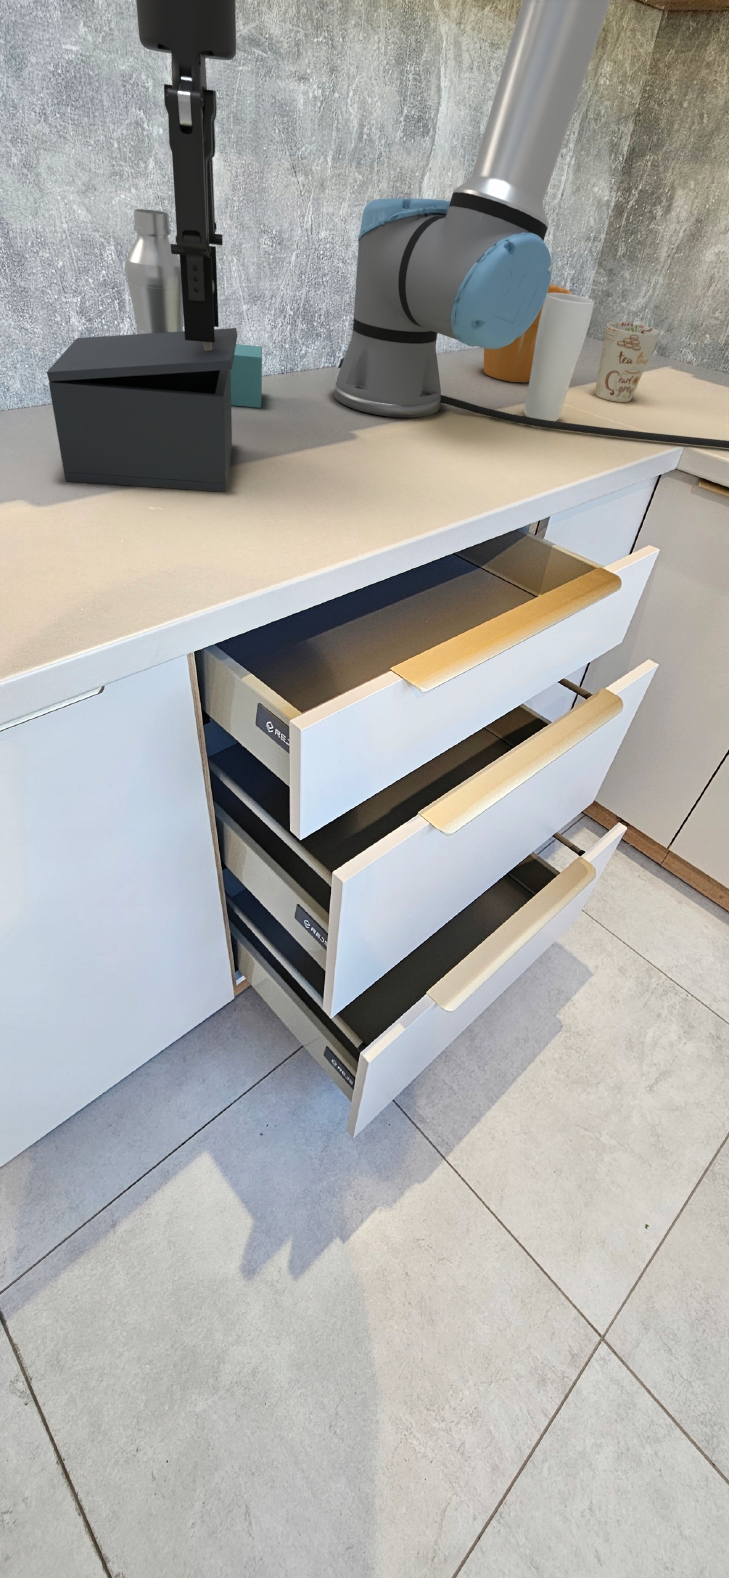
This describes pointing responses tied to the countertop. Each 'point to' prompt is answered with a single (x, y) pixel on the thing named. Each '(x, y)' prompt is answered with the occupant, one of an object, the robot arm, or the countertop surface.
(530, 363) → the flower pot
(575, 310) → the drinking glass
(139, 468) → the compartment
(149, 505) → the countertop surface
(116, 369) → the lid
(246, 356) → the detergent carton
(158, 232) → the silver metal bottle
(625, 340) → the mug
